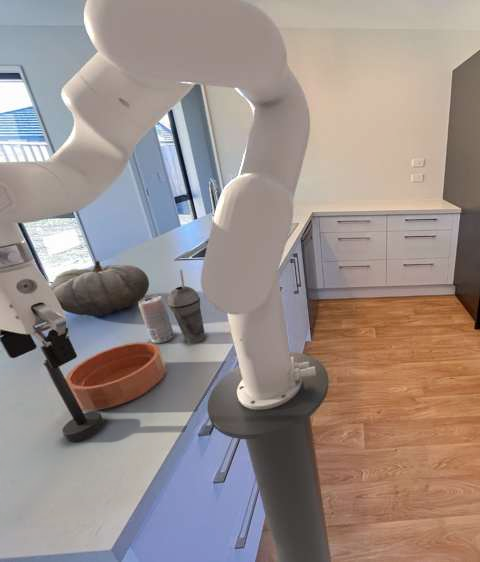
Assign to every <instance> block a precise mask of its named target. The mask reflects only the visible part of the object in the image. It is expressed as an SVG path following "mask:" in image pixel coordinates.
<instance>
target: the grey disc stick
mask: <svg viewBox="0 0 480 562" xmlns="http://www.w3.org/2000/svg"><path fill="white" fill-rule="evenodd" d="M43 367H44V368H45V370H46V372H47V373H48V375H49V377H50V379H51V382H52V383H53V384H54V386H55V388H56V390H57V392H58V394H59V395H60V397H61V399H62V401H63V403H64V405H65V406H66V408H67V410H68V412H69V414H70V416H71V417H72V419H71V420H69V421H68V422H67V423H65V424H64V426H63V427H62V430H61V433H62V434H63V436H64V438H65V440H66V441H67V442H69V443H79V442H83V441H85V440H87V439H89V438H91V437H93V436H95V434H97V433H98V432H99V431H100V430H102V429H103V427H104V425H105V420H104V418H103V416H102V414H101V413H100V412H99V411H98V410H90V411H87V412H83V409H82V408H80V406H79V404H78V402H77V400H76V398H75V396H74V395H73V393H72V391H71V389H70V387H69V385H68V383H67V381H66V377H65V376H64V373H63V371H62V370H61V369H60V366H59V367H57V368H51V367H50V365H49V363H48V361H47V359H45V360H44V361H43Z"/></svg>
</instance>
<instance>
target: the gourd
mask: <svg viewBox="0 0 480 562" xmlns="http://www.w3.org/2000/svg"><path fill="white" fill-rule="evenodd" d="M49 285H50V287H51V289H52V291H53V292H54V294H55V296H56V298H57V300H58V302H59V303H60V305H61V307H62V309H63V311H64V312H66V313H69V314H73V315H78V316H89V317H98V316H99V317H101V316H105V315H109V314H112V313H113V312H116V311H119V310H123V309H125V308H127V307H130V306H132V305H135V304H137V303H139V301H140V300H142V299H144V298H145V296H146V294H147V293H148V291H149V286H150V280H149V277H148V275H147V274H146V273H145V271H143V269H141V268H139V267H138V266H135V265H131V264H108V265H107V264H106V265H102V266H101V263H100V261H99V260H98V259H96V260H95V264H94V266H93V268H81V269H77V268H75V269H69V270H66V271H63V272H61V273H58V274H57V275H56V277H55V279H54V280H53V281H52V283H51V284H49Z"/></svg>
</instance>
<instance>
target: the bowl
mask: <svg viewBox="0 0 480 562" xmlns="http://www.w3.org/2000/svg"><path fill="white" fill-rule="evenodd" d="M166 368H167V365H166V363H165V360H164V358H163V354H162V353H161V349H160V347H159V346H158V345H157V343H154V342H149V341H136V342H129V343H125V344H121V345H117V346H114V347H111V348H108V349H105V350H103V351H99V352H98V353H95V354H94V355H92V356H90V357H88V358H85V360H83V361H81V362H80V363H78V364H77V365H76V366H74V368H72V369H71V370H70V371H69V372H68V373H67V375H66V377H65V379H66V381H67V383H68V385H69V387H70V389H71V391H72V393H73V395H74V396H75V398H76V400H77V402H78V404H79V406H80V408H81V410H85V411H86V410H87V411H100V410H104V409H110V408H114V407H117V406H122V405H123V404H126V403H128V402H129V403H130V402H131V401H133V400H135V399H137V398H139V397H141V396H142V395H144V394H146V393H147V392H148V391H150V390H151V389H152V388H154V387H155V386H156V385H157V384H159V382H160V381H161V380H162V379H163V378H164V376H165V374H166V373H167V370H166Z"/></svg>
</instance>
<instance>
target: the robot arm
mask: <svg viewBox="0 0 480 562" xmlns="http://www.w3.org/2000/svg"><path fill="white" fill-rule="evenodd" d="M83 23H84V26H85V29H86V30H85V31H86V33H87V35H88V37H89V39H90V42H91V43H92V45H93V46H94V48H95V49H96V50H97V52H96V53H95V54H93V56H92V57H91V58H89V60H88V61H87V62H86V63H85V64H84V65H83V66H82V67H81V68H80V69H79V70H78V71H77V72H76V73H75V74H74V76H72V77H71V78H70V79H69V80H68V82H66V83H65V84H64V85H63V87H62V89H61V93H60V95H61V99H62V101H63V103H64V105H65V107H66V108H67V109H68V110H69V112H70V113H71V114H72V117H73V128H72V131H71V133H70V135H69V136H68V138H67V139H66V140H65V142H64V143H63V144H62V145H61V146H60V147H59V148H58V149H57V150H56V151H55V152H54V153H53V154H52V155H51V156H50V157H49V158H47V159H46V160H44V161H43V160H42V161H41V160H40V161H39V160H38V161H0V343H1V345H2V347H3V349H4V350H5V352H6V354H7V355H8V357H9V359H10V358H11V359H17V358H18V357H20V356H22V355H25V354H27V353H29V352H32V351H34V350H36V349H37V344H36V343H35V340H34V339H33V337H34V338H36V339H37V340H38V341H39V342H40V343H41V344H42V346H40V349H41V352H42V353H43V355H44V357H45V360H47V361H48V363H49V365H50V367H51V368H57V367H59V368H60V367H62V366H63V365H65V364H67V363H69V362H72V361H73V360H75V359H76V358H77V357H78V355H77V352H76V350H75V348H74V346H73V344H72V341H71V340H70V333H69V327H67V315H66V313H65V311H64V310H63V309H62V307H61V305H60V303H59V302H58V300H57V298H56V296H55V294H54V292H53V291H52V289H51V287H50V285H51V284H49V282H48V281H47V279H46V277H45V276H44V274H43V273H42V272H41V270H40V268H38V266H37V265H36V264H35V262H36V260H35V258H34V256H33V254H32V251H31V249H30V247H29V245H28V242H27V240H26V239H25V237H24V235H23V231H22V230H21V228H20V226H19V224H26V223H27V224H28V223H34V222H39V221H43V220H47V219H51V218H55V217H58V216H62V215H67V214H70V213H75V212H79V211H81V210H84V209H86V208H87V207H88V206H90V205H91V204H93V203H94V202H95V201H96V200H98V199H99V197H100V196H102V194H103V193H104V192H106V191H107V190H108V189H109V187H111V186H112V185H113V184H114V182H115V181H117V180H118V178H120V176H121V174H122V173H123V172H124V170H125V168H126V167H127V165H128V163H129V161H130V159H131V158H132V156H133V153H134V150H135V147H136V145H137V144H138V143H140V142H141V140H142V139H143V138H144V137H145V136H146V135H147V134H148V133H149V132H150V131H151V130H152V129H153V128H154V127H155V126H156V125H158V123H159V122H160V121H161V120H162V119H163V118H164V117H165V116H166V115H167V114H168V113H170V111H171V110H172V109H173V108H174V107H175V106H176V105H178V103H179V102H180V101H181V100H183V99H184V97H185V96H186V95H188V94H189V92H190V91H191V90H193V88H194V86H195V85H200V86H209V87H221V88H231V89H235V91H237V93H238V94H240V96H241V97H243V99H245V100H246V101H247V102H248V103H249V104H250V107H251V111H252V122H251V126H250V129H249V132H248V136H247V140H246V146H245V151H244V154H243V158H242V162H241V166H240V169H239V172H238V175H237V177H235V178H233V179H232V180H231V181H230V182H228V184H227V185H225V187H224V188H223V190H222V192H221V193H220V196H219V198H218V200H217V203H216V207H215V210H214V215H213V219H212V224H211V228H210V233H209V236H208V241H207V246H206V251H205V255H204V258H203V259H204V260H203V264H202V268H201V273H200V286H201V290H202V293H203V295H204V297H205V299H206V300H207V302H208V303H209V304H210V305H211V306H212V307H214V308H215V309H216V310H218V311H220V312H222V313H225V314H226V315H227V321H228V324H229V328H230V329H229V330H230V334H231V337H232V341H233V346H234V349H235V354H236V357H237V362H238V366H240V370H241V374H242V381H241V382H240V384H239V386H238V389H237V396H238V399H239V401H240V403H241V404H242V405H244V406H245V407H247V408H250V409H255V410H264V409H270V408H274V407H277V406H279V405H282V404H283V403H285V402H287V401H288V400H290V399H291V398H293V397H294V396H295V395H296V394H297V392H298V391H299V389H300V387H301V385H302V378H305V377H307V378H308V377H313V376H316V372H315V367H309V362H303V363H299V364H297V363H294V357H291V356H290V352H291V351H290V345H289V338H288V332H287V325H286V320H285V310H284V305H283V298H282V292H281V291H282V289H281V283H280V273H279V269H280V265H281V261H282V258H283V255H284V251H285V248H286V246H287V245H286V244H287V242H288V238H289V235H290V231H291V227H292V224H293V218H294V199H295V195H296V190H297V186H298V183H299V180H300V176H301V173H302V169H303V165H304V160H305V157H306V153H307V148H308V144H309V139H310V133H311V116H310V115H311V114H310V108H309V105H308V101H307V99H306V95H305V92H304V90H303V88H302V85H301V84H300V82H299V81H298V79H297V77H296V76H295V74H294V73H293V71H292V70H291V68H290V66H289V64H288V54H287V47H286V43H285V40H284V37H283V35H282V33H281V31H280V29H279V28H278V26H277V25H276V23H275V22H274V20H273V19H272V18H271V17H270V16H269V15H268V14H267V13H266V12H265V11H263V10H262V9H261V8H259V6H257V5H255V4H252V3H251V2H248V1H246V0H86V1H85V5H84V10H83ZM50 329H51V330H50ZM47 330H48V332H47V335H45V334H44V332H45V331H47ZM32 336H33V337H32ZM300 369H301V370H300Z"/></svg>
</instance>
